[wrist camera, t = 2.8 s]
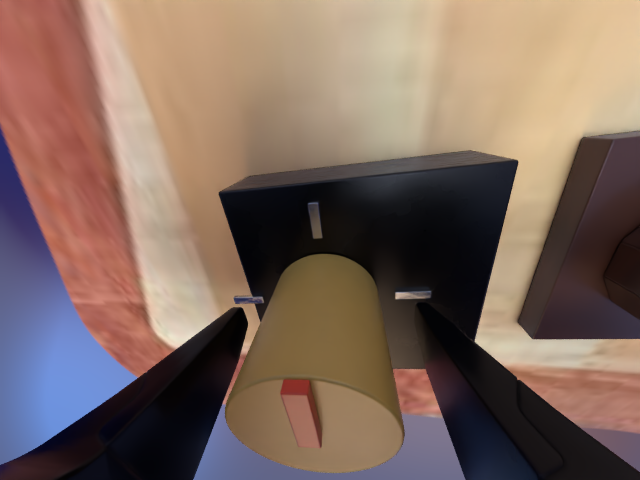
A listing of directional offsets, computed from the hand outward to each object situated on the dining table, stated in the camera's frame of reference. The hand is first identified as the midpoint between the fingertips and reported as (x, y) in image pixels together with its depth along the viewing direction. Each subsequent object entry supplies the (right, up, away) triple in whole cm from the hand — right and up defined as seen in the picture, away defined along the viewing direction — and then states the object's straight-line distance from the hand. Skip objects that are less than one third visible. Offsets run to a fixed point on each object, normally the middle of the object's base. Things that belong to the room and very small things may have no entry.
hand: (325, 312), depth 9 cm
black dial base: (+2, +2, +3) cm, 4 cm away
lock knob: (0, 0, +1) cm, 1 cm away
